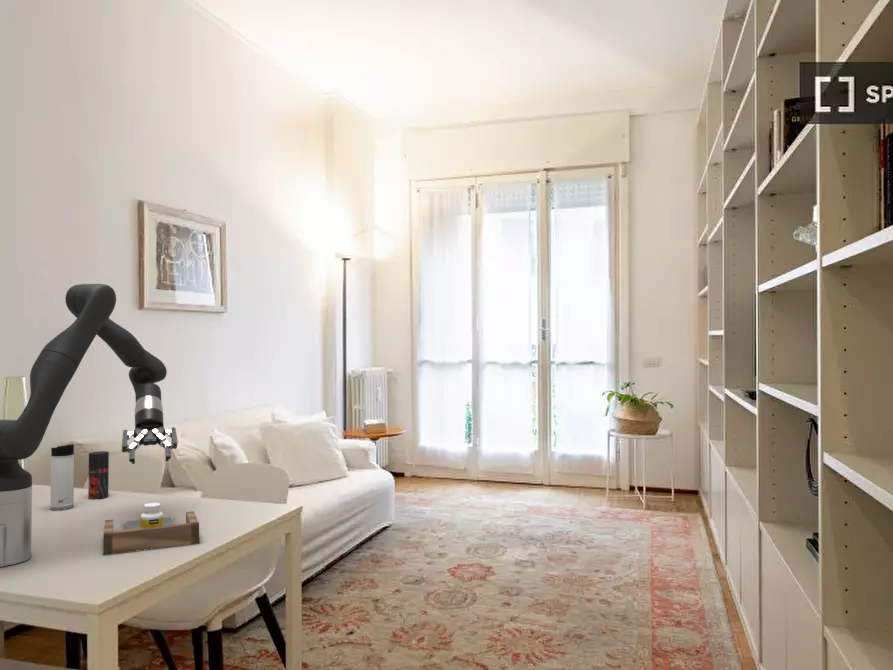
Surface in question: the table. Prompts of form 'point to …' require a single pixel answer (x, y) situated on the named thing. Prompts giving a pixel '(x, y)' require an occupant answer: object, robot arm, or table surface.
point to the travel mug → (62, 477)
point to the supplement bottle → (151, 516)
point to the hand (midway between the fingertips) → (150, 461)
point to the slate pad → (136, 523)
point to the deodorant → (98, 475)
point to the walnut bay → (150, 536)
